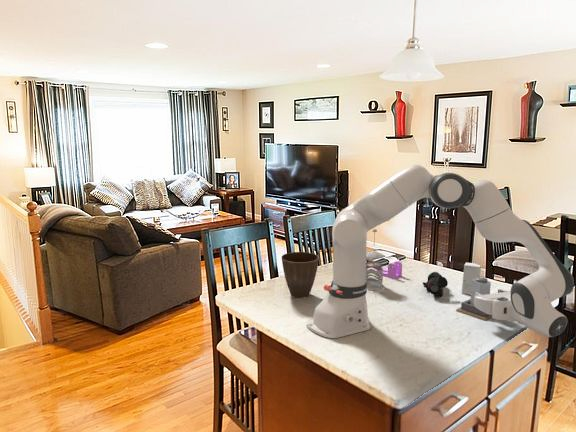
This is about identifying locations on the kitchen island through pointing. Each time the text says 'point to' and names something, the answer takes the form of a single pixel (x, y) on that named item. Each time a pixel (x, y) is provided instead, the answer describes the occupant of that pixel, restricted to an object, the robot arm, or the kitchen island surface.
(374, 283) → the french press
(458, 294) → the kitchen island surface
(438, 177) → the robot arm
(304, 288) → the plant pot
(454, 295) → the kitchen island surface
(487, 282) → the cap block
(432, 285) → the night vision scope
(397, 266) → the bracket
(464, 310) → the collar
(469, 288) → the skincare box
